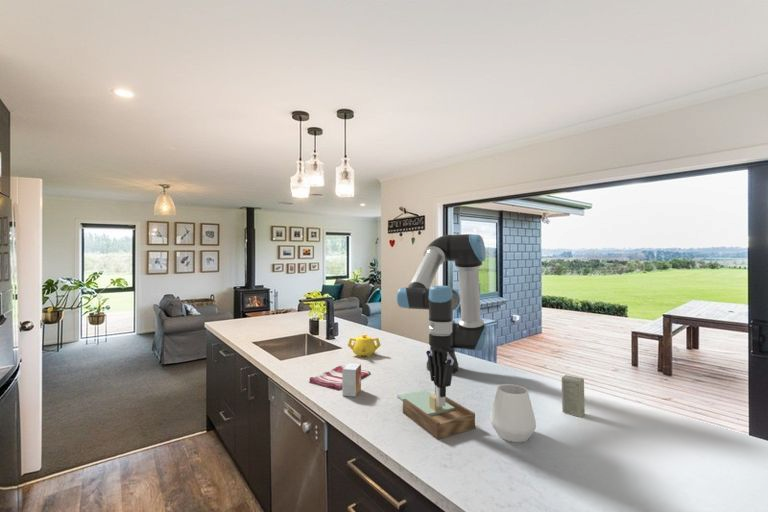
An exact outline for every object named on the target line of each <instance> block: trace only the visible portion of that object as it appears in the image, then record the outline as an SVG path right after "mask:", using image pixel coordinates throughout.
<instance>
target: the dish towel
mask: <svg viewBox="0 0 768 512" xmlns="http://www.w3.org/2000/svg"><path fill="white" fill-rule="evenodd" d="M345 366H346V365H339V366H336V367H334V368H332V369H331V370H328V371H325V372H323V373H321V374H319V375H318V376H314V377H313V376H311V377H309V381H308V382H309V383H311V384H313V385H318V386H320V387H325V388H328V389H332V390H335V391H340V390H342V369H343V368H344V367H345ZM369 375H372V374H371V372H370V371H368V370H364V369H361V380H362V379H364V378H366V377H368V376H369Z"/></svg>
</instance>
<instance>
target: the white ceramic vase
mask: <svg viewBox="0 0 768 512" xmlns="http://www.w3.org/2000/svg"><path fill="white" fill-rule="evenodd" d="M529 393H530V392H529V390H528V389H527V388H526V387H524V386H521V385H519V384H513V383H504V384H500V385H498V386H497V387H496V393H495V396H494V399H493V403H492V408H491V410H490V414H489V421H490V424H491V426H492V427H493V429H494V431H495V433H496V434H497V436H498V437H499V438H501V439H503V440H505V441H508V442H511V441H512V442H513V443H523V441H524V442H526V441H528V440H529V439H528V438H530V437H531V436H532V434H534V432H535V431H536V429H537V424H536V423H537V422H536V417H535V414H534V410H533V406H532V402H531V401H532V400H531V398H530V394H529Z"/></svg>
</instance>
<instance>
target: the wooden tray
mask: <svg viewBox="0 0 768 512" xmlns="http://www.w3.org/2000/svg"><path fill="white" fill-rule="evenodd" d="M434 393H435V392H434ZM435 394H436V393H435ZM445 402H446V403H448V404H450V405H451V406H453V407H455V410H452V411H448V412H444V413H440V414H436V415H432V416H430V415H428V414H427V413H425V412H424V411H422V410H421V409H419V408H418V407H417V406H415V405H414V404H412V403H411V402H409V401H408V400H407V399H403V401H402V414H403V415H405V416H406V417H407V418H408V419H410V420H411V421H412V422H413V423H415V424H416V425H417V426H419V427H420V428H422V429H423V430H424V431H426V432H427V433H428V434H429V435H431V436H432V438H435V439H436V440H441V439H444V438H446V437H450V436H453V435H458V434H462V433H464V432H468V431H471V430H475V429H476V413H475V412H473V411H472V410H470V409H468V408H466V407H464V406H463V405H461V404H460V403H458V402H457V401H455V400H453V399H450V398H449V397H447V396H446V397H445Z"/></svg>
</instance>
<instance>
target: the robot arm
mask: <svg viewBox="0 0 768 512" xmlns="http://www.w3.org/2000/svg"><path fill="white" fill-rule="evenodd" d="M485 260H486V246H485V242H484V239H483V237H482V236H481V235H480V234H472V233H466V234H465V233H464V234H444V235H441V236H438V238H437V237H436V239H434V240H433V241H431V242H430V243H429V244H428V246H426V248H425V249H424V251H423V259H422V260H421V261H420V264H419V266H418V268H417V270H416V272H415V273H414V275H413V277H412V279H411V281H410V282H409V284H408V286H407V287H406V286H405V287H400V288H399V289H398V290H397V293H396V302H397V305H398V307H399V308H402V309H408V310H411V309H412V310H427V311H428V332H429V334H428V344H429V348H430V350H427V351H426V356H427V362H426V369H427V371H429V374H430V375H429V377H430V381H431V382H433V383H434V388H435V389H434V390H435V391H434V393H436V406H437V407H442V406H445V397H447V393H446V392H447V387H450V386H452V385H451V384H452V378H453V373H456V372H458V371H459V362H458V360H457V356H456V352H455V351H456V349H458V350H466V351H467V350H468V351H484V350H485V348H486V345H487V338H488V330H489V327H488V326H489V325H487V324H485V321H484V319H482V317H481V302H480V301H481V300H480V299H481V297H480V275H479V270H480V269H479V268H480V267H481V266H483V262H484V261H485ZM447 261H450V262H454V266H455V267H456V268H457V269H458V277H459V278H458V279H459V280H458V281H459V283H458V284H459V291H457V289H455V288H452V286H449V285H432V284H433V280H434V279H435V277H436V275H437V272H438V271H439V268H440V266H441V265H443V263H445V262H447ZM431 285H432V286H431ZM459 305H460V318H459V320H458V321H457V322H456V321H455V319H453V310H456V309H457V308H458V307H459Z"/></svg>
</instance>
